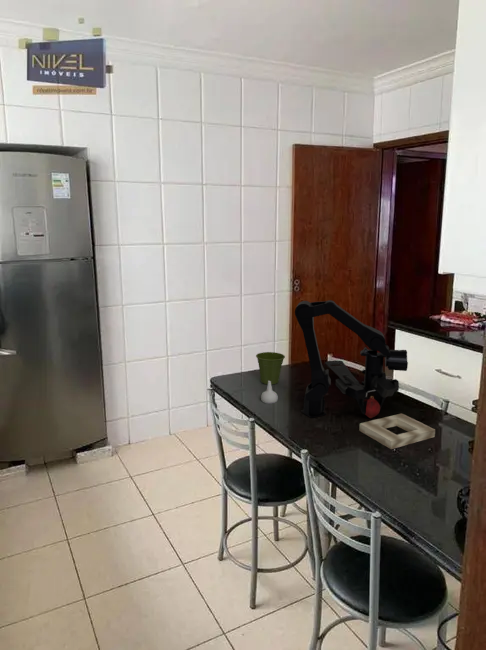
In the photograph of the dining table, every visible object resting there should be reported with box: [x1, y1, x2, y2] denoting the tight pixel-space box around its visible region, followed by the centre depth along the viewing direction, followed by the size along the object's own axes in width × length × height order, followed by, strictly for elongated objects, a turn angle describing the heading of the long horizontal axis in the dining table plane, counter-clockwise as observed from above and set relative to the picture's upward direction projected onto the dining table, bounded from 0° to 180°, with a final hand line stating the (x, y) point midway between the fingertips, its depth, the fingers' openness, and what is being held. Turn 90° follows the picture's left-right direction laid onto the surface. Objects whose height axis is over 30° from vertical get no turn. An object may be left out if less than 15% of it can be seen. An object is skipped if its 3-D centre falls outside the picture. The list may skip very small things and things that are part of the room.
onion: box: [365, 395, 381, 419], centre depth 162 cm, size 6×6×8 cm
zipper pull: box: [325, 360, 364, 395], centre depth 195 cm, size 9×7×25 cm
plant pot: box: [255, 351, 286, 385], centre depth 197 cm, size 12×12×11 cm
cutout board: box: [358, 413, 436, 450], centre depth 151 cm, size 18×14×2 cm
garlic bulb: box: [260, 381, 279, 405], centre depth 178 cm, size 6×6×8 cm
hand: (370, 412), depth 163 cm, fingers closed on onion, 6 cm apart
